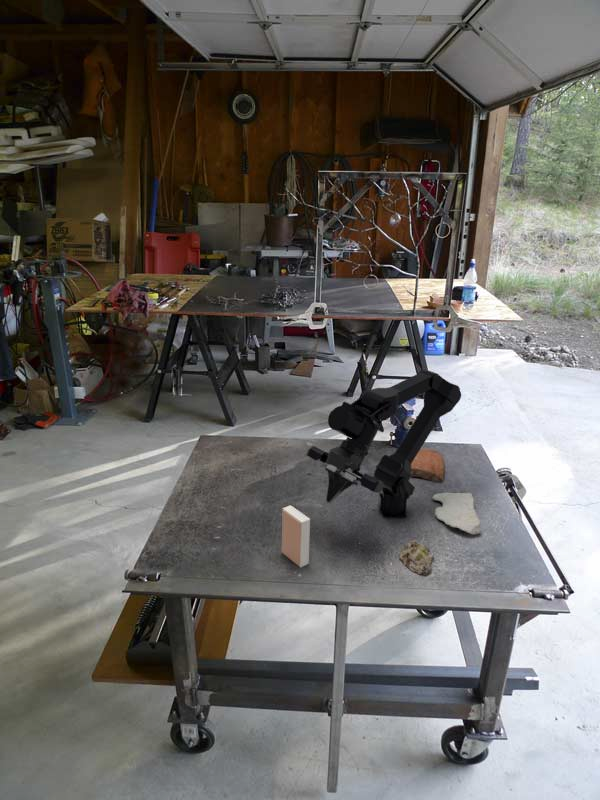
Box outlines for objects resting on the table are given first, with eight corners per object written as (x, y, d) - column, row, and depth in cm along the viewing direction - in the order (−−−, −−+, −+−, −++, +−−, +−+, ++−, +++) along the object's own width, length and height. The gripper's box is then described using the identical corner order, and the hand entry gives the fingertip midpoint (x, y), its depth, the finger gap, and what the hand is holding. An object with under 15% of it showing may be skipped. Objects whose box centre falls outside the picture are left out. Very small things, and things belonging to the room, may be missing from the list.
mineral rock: (392, 540, 142) (425, 531, 142) (396, 555, 144) (428, 546, 144) (405, 571, 132) (440, 561, 132) (408, 585, 134) (443, 576, 134)
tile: (289, 548, 142) (290, 505, 137) (308, 563, 137) (310, 518, 132) (281, 552, 140) (281, 508, 136) (299, 567, 135) (301, 522, 131)
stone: (469, 486, 165) (496, 522, 146) (469, 499, 167) (495, 537, 148) (424, 489, 165) (445, 526, 146) (423, 502, 166) (444, 541, 147)
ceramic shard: (396, 439, 186) (444, 451, 184) (391, 458, 188) (439, 470, 186) (395, 455, 172) (446, 468, 170) (389, 475, 174) (441, 488, 172)
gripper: (313, 419, 137) (282, 480, 137) (384, 455, 129) (351, 520, 128) (329, 427, 147) (300, 484, 147) (396, 461, 139) (366, 521, 138)
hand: (328, 502), depth 140 cm, fingers closed
